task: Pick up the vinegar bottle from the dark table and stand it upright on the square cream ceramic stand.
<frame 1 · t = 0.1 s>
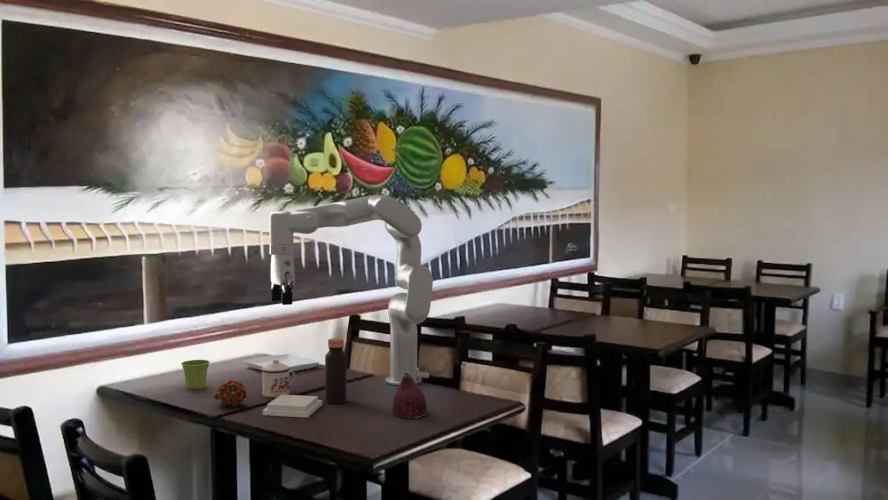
hand: (281, 302, 247), 31 cm above the table, tool pointing down, fingers open, 9 cm apart
plant pot: (195, 387, 262), on the table
dragon fruit: (230, 405, 240), on the table
vinegar: (335, 402, 246), on the table
stand: (293, 410, 235), on the table
teacup with lid: (279, 394, 255), on the table
salad plate: (281, 369, 292), on the table
vegetable: (409, 415, 232), on the table
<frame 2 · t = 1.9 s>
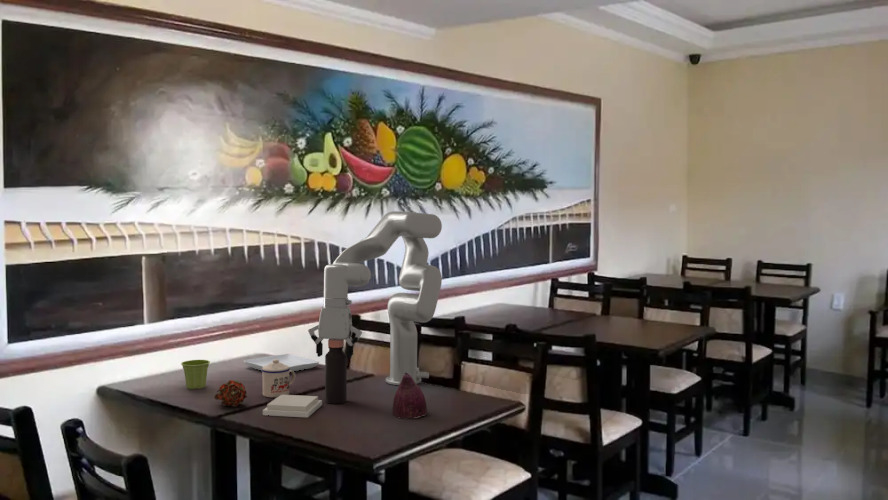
hand: (334, 356, 244), 15 cm above the table, tool pointing down, fingers open, 9 cm apart
nothing on the table moved.
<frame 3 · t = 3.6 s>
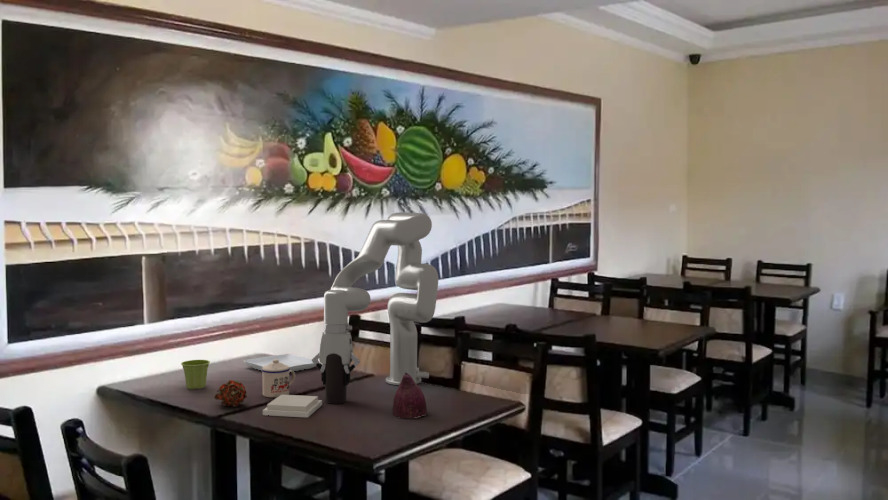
hand: (335, 383, 245), 6 cm above the table, tool pointing down, fingers closed on vinegar, 6 cm apart
vinegar: (335, 402, 246), on the table, touching gripper
everything else where it was.
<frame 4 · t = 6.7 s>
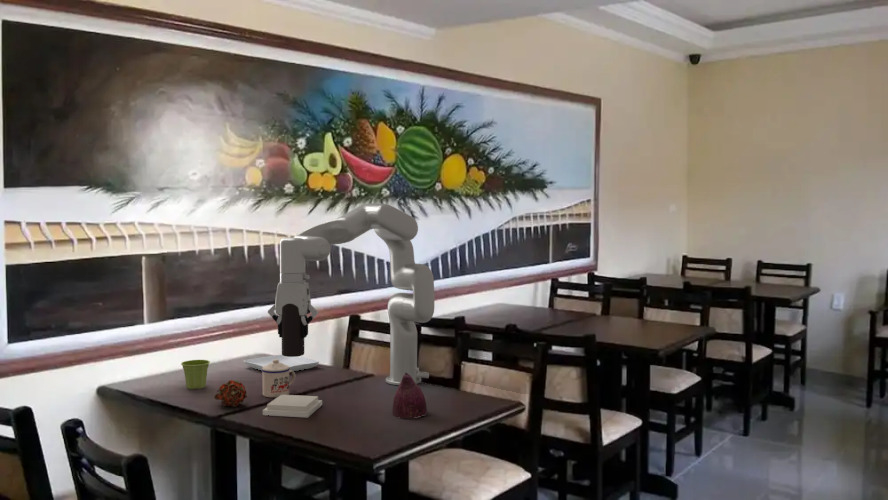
hand: (293, 336, 234), 23 cm above the table, tool pointing down, fingers closed on vinegar, 6 cm apart
vinegar: (293, 355, 234), point 17 cm above the table, touching gripper
everything else where it was.
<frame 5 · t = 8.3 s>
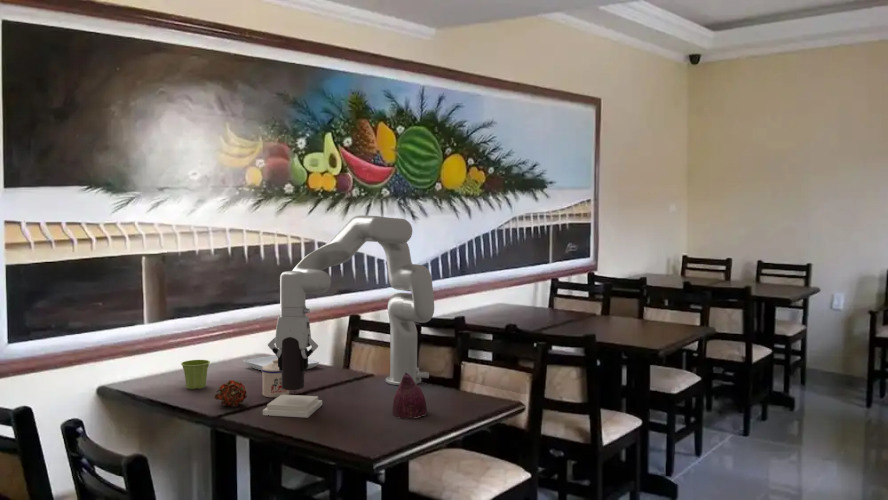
hand: (293, 369, 235), 13 cm above the table, tool pointing down, fingers closed on vinegar, 6 cm apart
vinegar: (292, 388, 235), point 7 cm above the table, touching gripper
everything else where it was.
when the fingers open (9 cm above the table, at t = 9.9 s): vinegar stays where it is, resting on stand.
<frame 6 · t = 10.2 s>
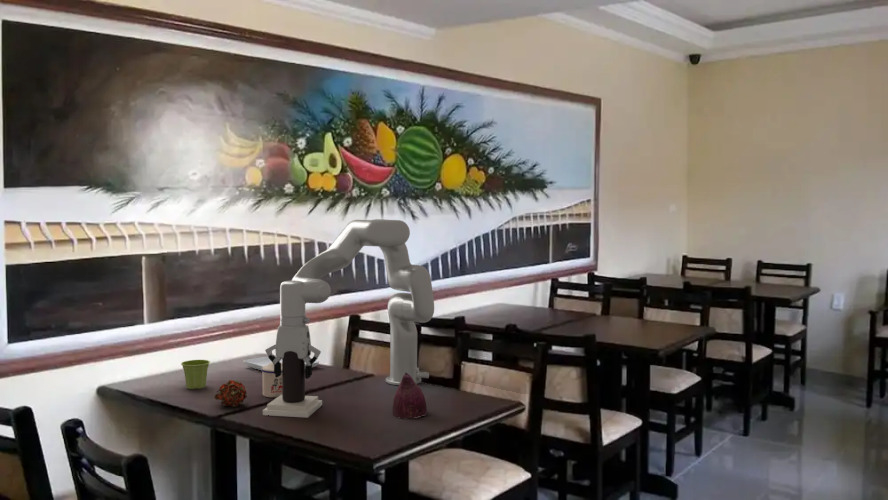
hand: (293, 377, 235), 10 cm above the table, tool pointing down, fingers open, 9 cm apart
vinegar: (293, 400, 235), point 3 cm above the table, touching stand
everything else where it was.
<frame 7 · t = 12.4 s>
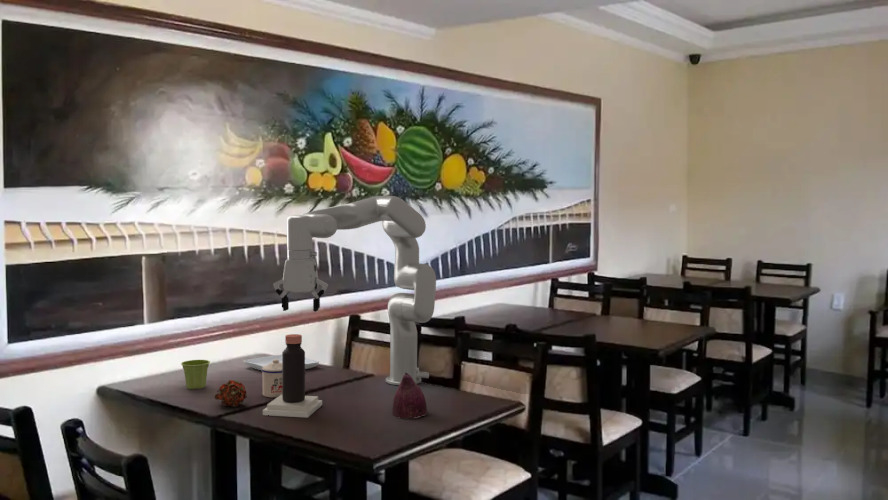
hand: (300, 310, 237), 30 cm above the table, tool pointing down, fingers open, 9 cm apart
nothing on the table moved.
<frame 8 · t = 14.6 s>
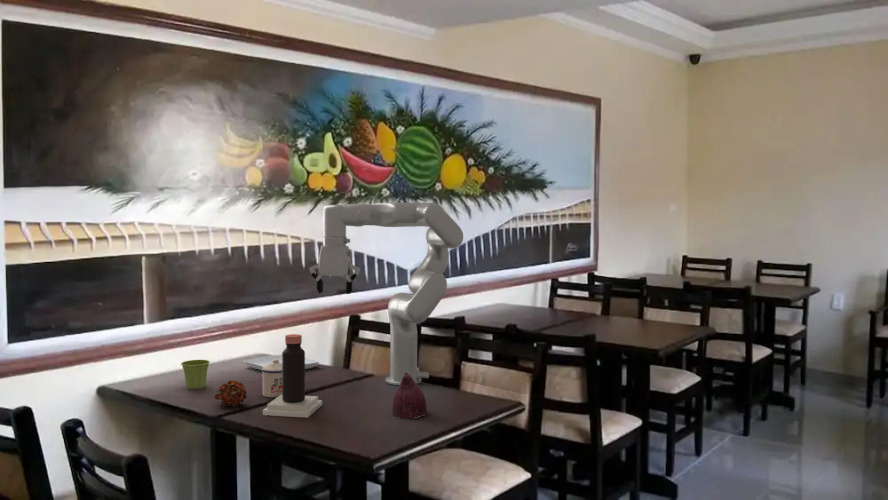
hand: (334, 293, 256), 33 cm above the table, tool pointing down, fingers open, 9 cm apart
nothing on the table moved.
at the end: vinegar inside the target area on the stand (0.2 cm from its centre), point 2.8 cm above the stand's base; vinegar tilted 0°; the gripper is holding nothing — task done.
